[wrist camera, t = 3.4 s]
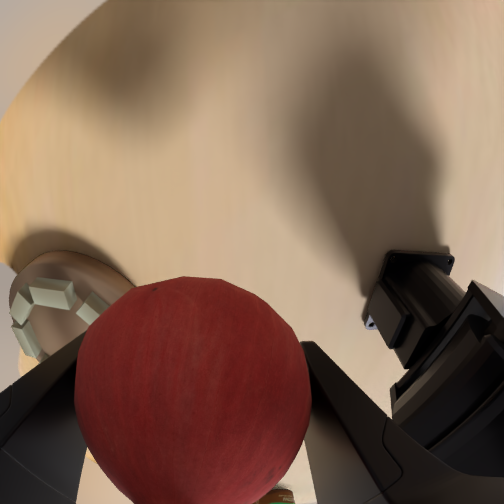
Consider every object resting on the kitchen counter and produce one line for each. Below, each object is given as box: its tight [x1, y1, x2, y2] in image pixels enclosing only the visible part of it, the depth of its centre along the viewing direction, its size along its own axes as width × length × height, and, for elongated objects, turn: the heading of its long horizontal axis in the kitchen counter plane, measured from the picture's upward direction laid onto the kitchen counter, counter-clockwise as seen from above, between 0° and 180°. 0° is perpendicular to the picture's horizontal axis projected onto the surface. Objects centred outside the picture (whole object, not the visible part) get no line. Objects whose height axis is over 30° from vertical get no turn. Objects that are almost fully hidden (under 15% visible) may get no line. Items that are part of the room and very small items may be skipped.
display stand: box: [9, 251, 135, 364], centre depth 18 cm, size 14×14×3 cm
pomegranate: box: [74, 276, 312, 504], centre depth 6 cm, size 6×6×8 cm
